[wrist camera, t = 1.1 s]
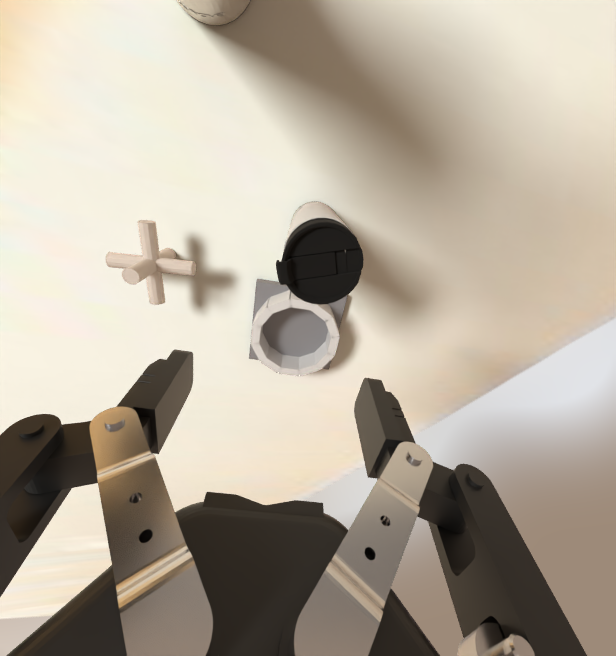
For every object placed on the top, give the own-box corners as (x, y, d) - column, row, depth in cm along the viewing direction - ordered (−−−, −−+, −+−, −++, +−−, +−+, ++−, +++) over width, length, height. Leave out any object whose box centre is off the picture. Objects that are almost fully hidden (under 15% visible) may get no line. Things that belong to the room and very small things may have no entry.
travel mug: (284, 205, 37) (268, 229, 19) (335, 198, 37) (366, 217, 19) (291, 253, 40) (283, 313, 22) (339, 247, 40) (368, 303, 22)
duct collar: (257, 278, 42) (252, 289, 37) (346, 293, 43) (350, 305, 39) (250, 354, 48) (245, 371, 43) (328, 365, 49) (330, 382, 45)
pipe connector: (204, 221, 38) (173, 234, 29) (207, 292, 42) (182, 322, 34) (125, 211, 37) (69, 222, 28) (137, 284, 42) (92, 313, 33)
